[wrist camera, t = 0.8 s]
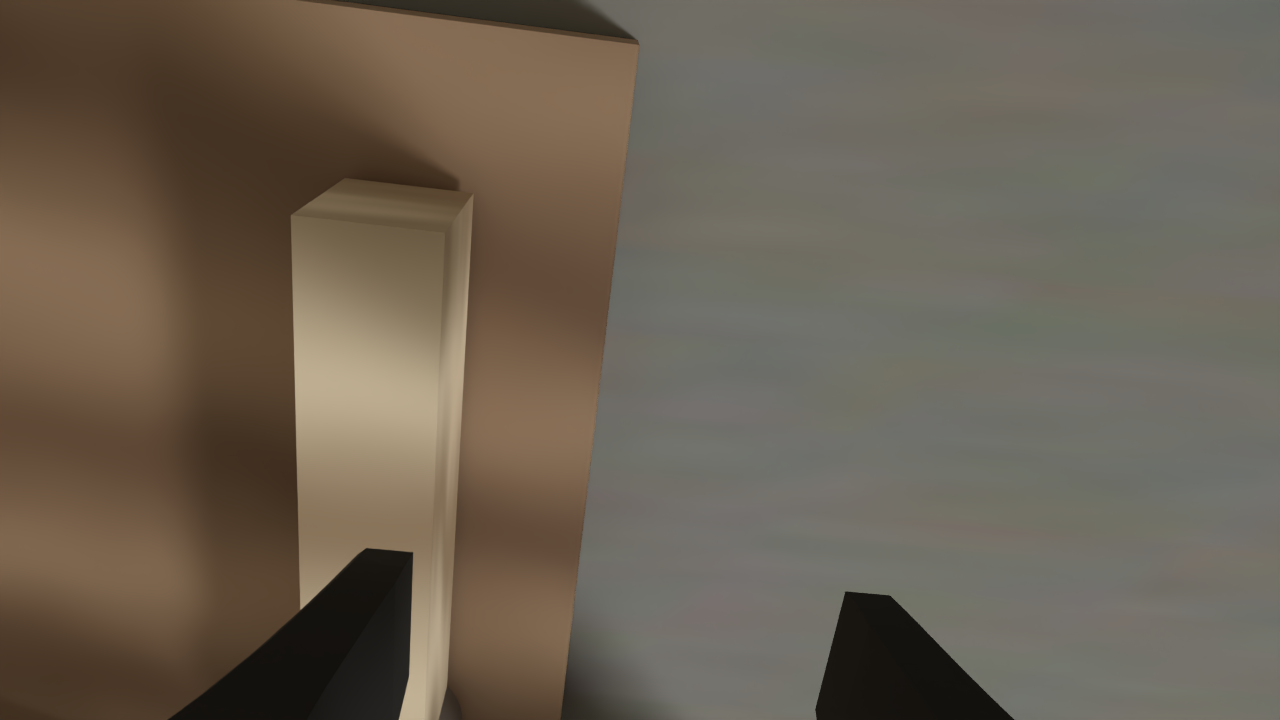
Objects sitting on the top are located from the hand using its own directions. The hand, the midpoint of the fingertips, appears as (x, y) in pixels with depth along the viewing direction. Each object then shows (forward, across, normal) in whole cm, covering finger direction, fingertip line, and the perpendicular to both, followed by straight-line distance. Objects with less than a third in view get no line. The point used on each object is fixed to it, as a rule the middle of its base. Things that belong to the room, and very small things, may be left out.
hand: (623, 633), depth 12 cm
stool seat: (+9, +10, +3) cm, 14 cm away
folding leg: (+7, +4, +3) cm, 9 cm away
